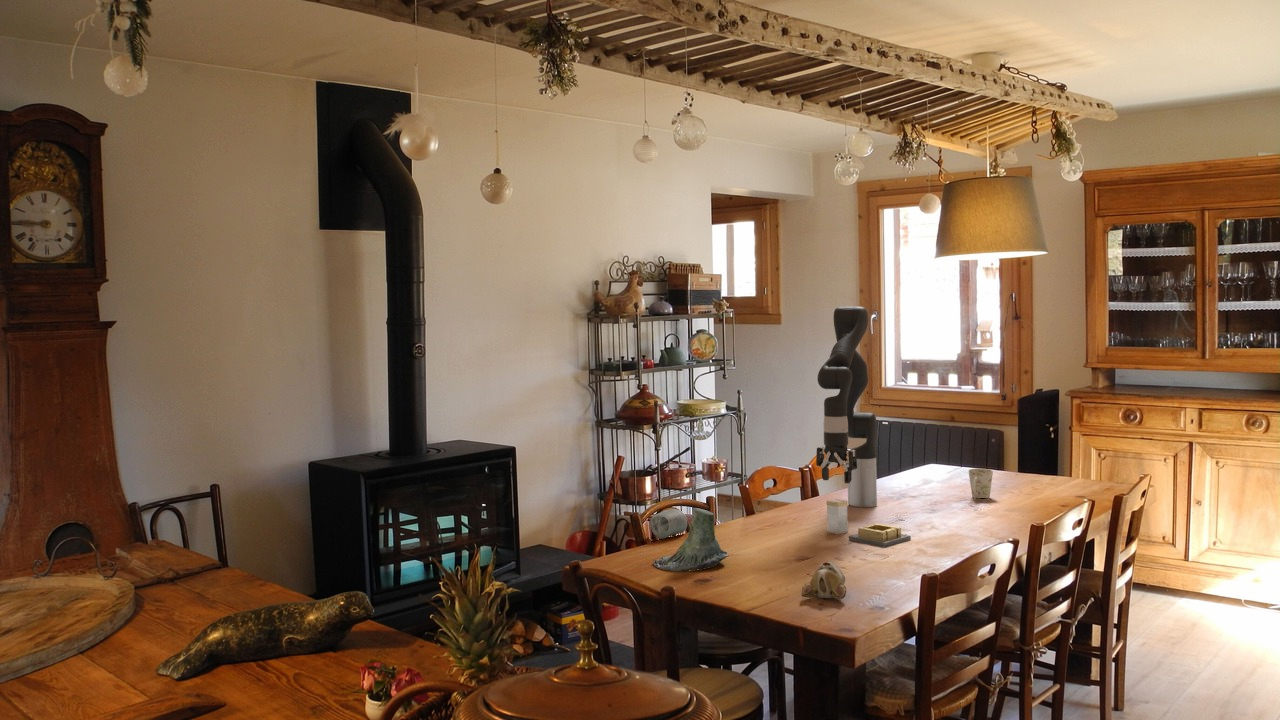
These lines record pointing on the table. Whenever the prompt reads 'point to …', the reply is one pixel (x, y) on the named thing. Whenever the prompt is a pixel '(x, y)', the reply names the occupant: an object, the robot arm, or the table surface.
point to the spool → (668, 523)
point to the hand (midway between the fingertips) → (836, 481)
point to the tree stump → (696, 546)
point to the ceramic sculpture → (826, 583)
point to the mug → (980, 482)
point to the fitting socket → (880, 535)
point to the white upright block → (837, 516)
